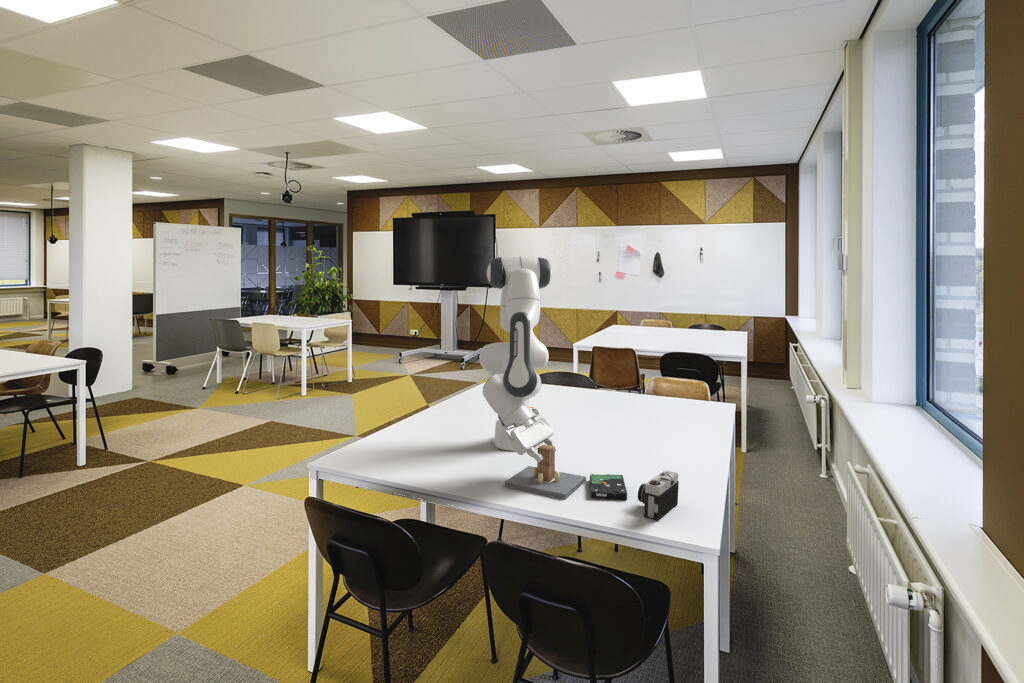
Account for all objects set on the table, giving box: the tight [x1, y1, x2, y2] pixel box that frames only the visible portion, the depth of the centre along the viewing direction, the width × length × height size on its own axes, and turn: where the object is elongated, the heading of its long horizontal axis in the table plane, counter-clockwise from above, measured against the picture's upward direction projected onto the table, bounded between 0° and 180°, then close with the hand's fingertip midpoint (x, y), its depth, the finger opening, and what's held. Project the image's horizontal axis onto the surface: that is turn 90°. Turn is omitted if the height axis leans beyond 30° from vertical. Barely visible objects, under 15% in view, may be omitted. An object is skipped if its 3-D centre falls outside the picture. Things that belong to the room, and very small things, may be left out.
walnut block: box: [536, 444, 556, 482], centre depth 170 cm, size 4×4×10 cm
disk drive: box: [589, 473, 628, 501], centre depth 167 cm, size 10×3×15 cm
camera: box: [637, 469, 680, 522], centre depth 152 cm, size 14×9×10 cm, turn 134°
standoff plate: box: [504, 465, 587, 500], centre depth 171 cm, size 16×20×4 cm
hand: (547, 456), depth 170 cm, fingers open, 8 cm apart
